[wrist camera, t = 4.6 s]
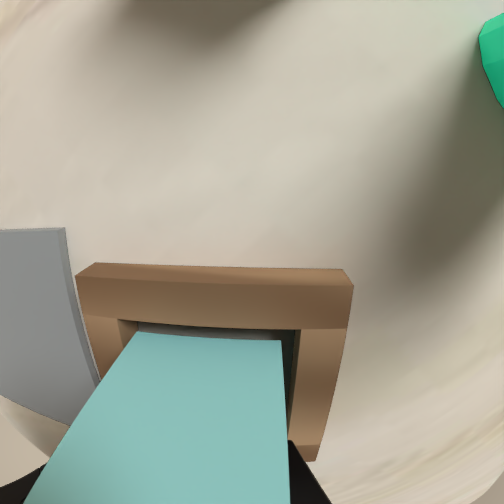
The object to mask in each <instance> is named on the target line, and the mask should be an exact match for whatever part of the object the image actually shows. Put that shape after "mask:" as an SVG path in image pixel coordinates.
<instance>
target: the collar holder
mask: <svg viewBox="0 0 504 504" xmlns="http://www.w3.org/2000/svg"><path fill="white" fill-rule="evenodd" d="M75 279H76V285H77V290H78V295H79V299H80V304H81V308H82V313H83V317H84V321H85V325H86V329H87V333H88V336H89V340H90V344H91V347H92V351H93V354H94V357H95V360H96V364H97V367H98V370H99V373H100V376H101V379H103V378H104V376H105V375H106V373H107V372H108V371H109V369H110V368H111V366H112V365H113V363H114V362H115V361H116V359H117V358H118V356H119V355H120V354H121V352H122V351H123V350H124V348H125V347H126V345H127V344H128V343H129V341H130V340H131V339H132V337H133V336H134V334H135V333H136V332H137V331H138V327H137V321H142V322H152V323H163V324H175V325H189V326H204V327H222V328H247V329H295V338H294V349H293V359H292V369H291V378H290V387H289V396H288V405H287V413H286V426H287V440H292V441H293V442H294V444H295V446H296V447H297V449H298V451H299V452H300V454H301V456H302V457H303V459H304V461H305V462H311V461H315V460H316V457H317V454H318V451H319V447H320V444H321V441H322V437H323V433H324V430H325V426H326V423H327V419H328V415H329V411H330V407H331V403H332V399H333V395H334V391H335V386H336V382H337V377H338V373H339V368H340V363H341V359H342V354H343V348H344V343H345V338H346V332H347V326H348V320H349V314H350V308H351V301H352V294H353V287H354V285H353V284H352V282H351V281H350V279H349V278H348V277H347V275H346V274H345V272H344V271H343V270H342V269H295V268H245V267H206V266H174V265H145V264H119V263H96V262H95V263H94V264H92V265H91V266H89V267H88V268H86V269H84V270H83V271H81V272H80V273H78V274H77V275H75Z"/></svg>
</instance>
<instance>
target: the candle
mask: <svg viewBox="0 0 504 504" xmlns="http://www.w3.org/2000/svg"><path fill="white" fill-rule="evenodd" d="M478 38H479V44H480V50H481V57H482V65H483V68H484V70H485V72H486V74H487V77H488V79H489V81H490V84H491V86H492V88H493V91H494V93H495V96H496V99H497V100H498V102H499V103H500V104H501V106H502V107H503V108H504V13H502V14H500V15H498V16H496V17H494V18H492V19H490V20H489V21H487V22H485V24H484V26H483V29H482V31H481V33H480V35H479V37H478Z"/></svg>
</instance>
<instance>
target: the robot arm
mask: <svg viewBox="0 0 504 504" xmlns="http://www.w3.org/2000/svg"><path fill="white" fill-rule="evenodd" d="M287 444H288V465H289V488H290V504H332V503H331V501H330V500H329V498H328V497H327V495H326V494H325V492H324V491H323V489H322V488H321V486H320V485H319V483H318V481H317V480H316V478H315V477H314V475H313V473H312V472H311V470H310V469H309V467H308V465H307V464H306V462H305V461H304V459H303V457H302V456H301V454H300V452H299V451H298V449H297V447H296V446H295V444H294V442H293V441H292V440H287ZM47 463H48V462H47ZM47 463H46V464H47ZM46 464H44V465H42V466H41V467H40V468H38V469H36V470H34V471H33V472H31V473H29V474H28V475H26V476H24V477H22V478H20V479H18V480H16V481H14V482H12V483H9V484H7V485H5V486H2V487H0V504H23V503H24V501H25V500H26V498H27V496H28V494H29V493H30V491H31V489H32V487H33V486H34V484H35V482H36V481H37V479H38V477H39V476H40V474H41V472H42V471H43V469H44V467H45V466H46Z"/></svg>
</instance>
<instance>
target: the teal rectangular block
mask: <svg viewBox="0 0 504 504" xmlns="http://www.w3.org/2000/svg"><path fill="white" fill-rule="evenodd" d="M23 504H290V488H289V465H288V444H287V426H286V408H285V392H284V377H283V362H282V348H281V340H242V339H221V338H204V337H190V336H178V335H167V334H156V333H147V332H138V331H137V332H136V333H135V334H134V336H133V337H132V339H131V340H130V341H129V343H128V344H127V345H126V347H125V348H124V350H123V351H122V352H121V354H120V355H119V356H118V358H117V359H116V361H115V362H114V363H113V365H112V366H111V368H110V369H109V371H108V372H107V373H106V375H105V376H104V378H103V379H102V381H101V382H100V383H99V385H98V386H97V388H96V389H95V391H94V392H93V394H92V395H91V397H90V398H89V399H88V401H87V402H86V404H85V405H84V407H83V408H82V410H81V411H80V413H79V414H78V416H77V417H76V419H75V420H74V422H73V423H72V425H71V426H70V428H69V429H68V431H67V433H66V434H65V436H64V437H63V439H62V440H61V442H60V443H59V445H58V447H57V448H56V450H55V451H54V453H53V454H52V456H51V458H50V459H49V461H48V463H47V464H46V466H45V467H44V469H43V471H42V472H41V474H40V476H39V477H38V479H37V481H36V482H35V484H34V486H33V487H32V489H31V491H30V493H29V494H28V496H27V498H26V500H25V501H24V503H23Z"/></svg>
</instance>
